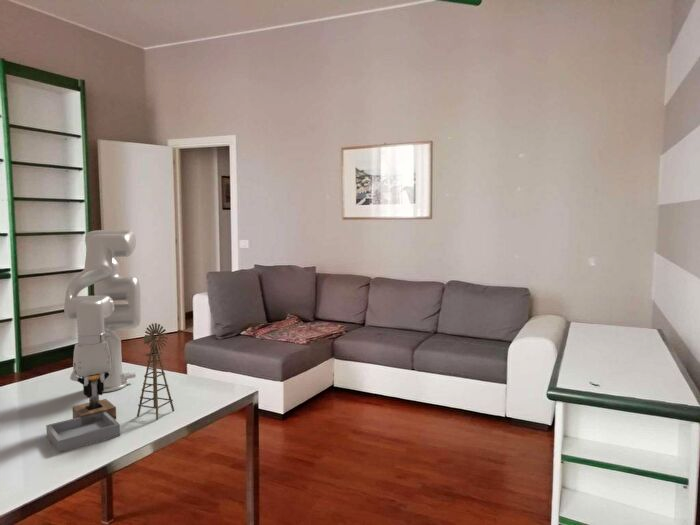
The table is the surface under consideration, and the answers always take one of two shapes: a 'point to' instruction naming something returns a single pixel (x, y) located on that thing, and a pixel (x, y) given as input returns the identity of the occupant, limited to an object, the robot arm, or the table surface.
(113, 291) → the robot arm
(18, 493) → the table surface
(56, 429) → the tray
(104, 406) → the socket block
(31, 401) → the table surface
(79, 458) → the table surface
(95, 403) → the pin
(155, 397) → the miniature windmill
